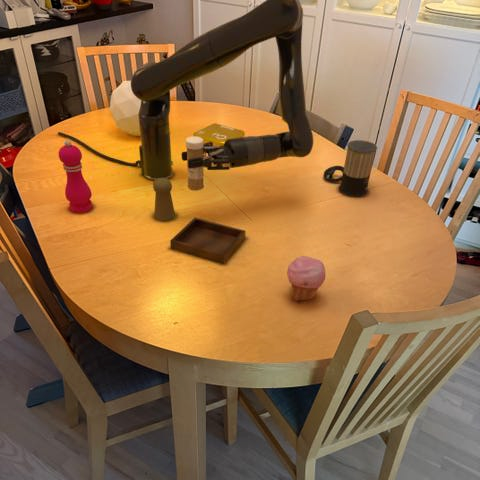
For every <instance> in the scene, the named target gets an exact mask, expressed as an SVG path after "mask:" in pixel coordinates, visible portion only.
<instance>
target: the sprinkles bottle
mask: <svg viewBox="0 0 480 480" xmlns="http://www.w3.org/2000/svg"><path fill="white" fill-rule="evenodd" d="M185 148H186V151H187V161H186V173H187V174H186V175H187V189H188V190H190V191H193V192H198V191H202V190H203V189H204V188H205V185H204V168H203V167H196V168H189V167H188V159H194V158H203V155H204V154H203V139H202V138H200V137H196V136H194V135H192V136H189V137H187V138H186V139H185Z"/></svg>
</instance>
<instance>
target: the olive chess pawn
mask: <svg viewBox="0 0 480 480" xmlns="http://www.w3.org/2000/svg"><path fill="white" fill-rule="evenodd" d="M152 188H153V191H154V192H155V194H154V195H155V196H154V213H153V214H154V215H153V216H154V219H155V220H157V221H159V222H169V221H172V220H174V219H175V218H176V213H175V212H176V211H175V208H174V202H173V197H172V193H171V192H172V190H173V189H172V188H173V185H172V181H171V180H170V179H169V178H168V179H165V178H159V179H157V180H153V184H152Z"/></svg>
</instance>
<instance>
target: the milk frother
mask: <svg viewBox="0 0 480 480" xmlns="http://www.w3.org/2000/svg"><path fill="white" fill-rule="evenodd" d="M346 146H347V150H346V154H345V160H344V166H342V165H333V166H330V167H327V168H326V169H325V170H324V172H323V178H324V179H325V180H326V181H327V182H331V183H340V184H339V186H338V190H339V192H340V193H342V194H344V195H346V196H349V197H363V196H366V194H368V189H369V188H368V187H369V182H370V179H371V174H372V173H371V172H372V169H373V165H374V161H375V158H376V154H377V150H378V146H377V145H376V144H375V143H374V142H371V141H367V140H361V139H357V140H350V141H348V142H347V144H346ZM336 171H340V172H341V173H342V175H341V176H339V177H337V178H333V175H335V173H336Z"/></svg>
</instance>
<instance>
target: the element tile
mask: <svg viewBox="0 0 480 480" xmlns="http://www.w3.org/2000/svg"><path fill="white" fill-rule="evenodd" d="M245 133H246V132H245V131H244V130H242V129H238V128H234V127H231V126H227V125H224V124H220V123H215V122H214V123H211V124H209V125H207V126H205V127H203V128H201V129H198V130H197V131H194V132H193V135H192V136H196V137H200V138H202V139H203V144H204V143H208V142H213V146H216V145H218V146H223V145H224V144H225V141H226V140H227V139H233V138H240V137H246V136H245Z"/></svg>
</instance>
